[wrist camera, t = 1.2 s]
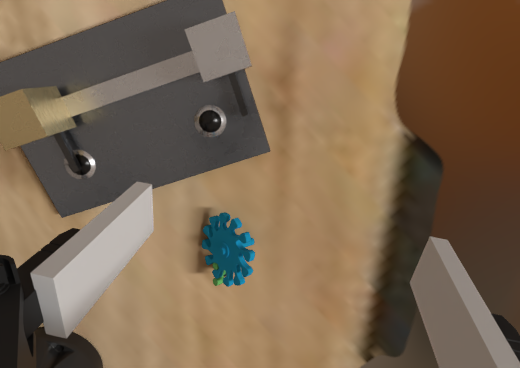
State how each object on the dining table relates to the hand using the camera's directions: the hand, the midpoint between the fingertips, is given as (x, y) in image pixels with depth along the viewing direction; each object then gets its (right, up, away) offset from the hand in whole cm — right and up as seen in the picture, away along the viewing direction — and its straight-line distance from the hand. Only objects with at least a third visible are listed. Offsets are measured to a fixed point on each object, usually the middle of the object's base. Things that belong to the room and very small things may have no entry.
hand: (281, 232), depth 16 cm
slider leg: (-4, +15, +23) cm, 28 cm away
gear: (-6, -6, +33) cm, 34 cm away
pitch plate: (-17, +12, +26) cm, 33 cm away
